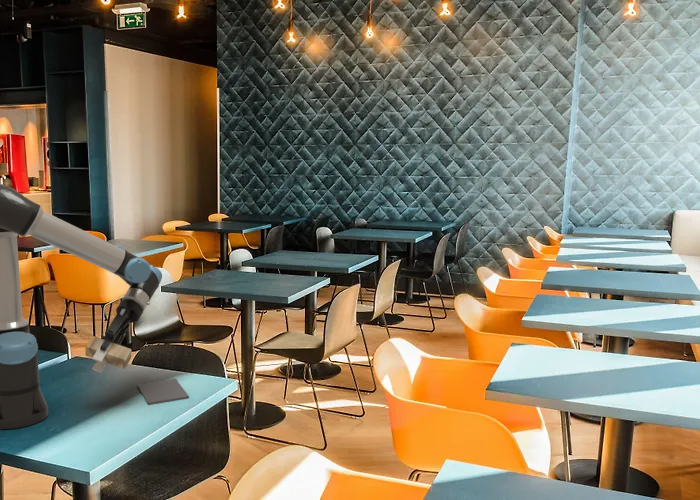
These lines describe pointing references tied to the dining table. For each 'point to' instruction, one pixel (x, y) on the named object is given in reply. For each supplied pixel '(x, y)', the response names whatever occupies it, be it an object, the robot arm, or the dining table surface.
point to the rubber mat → (162, 391)
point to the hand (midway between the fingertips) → (96, 365)
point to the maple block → (110, 352)
